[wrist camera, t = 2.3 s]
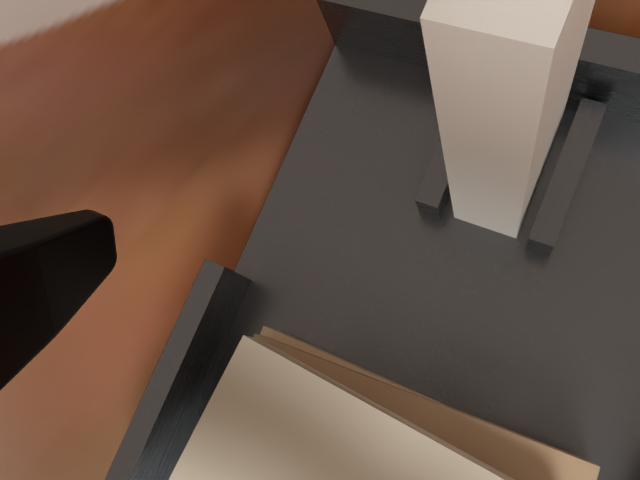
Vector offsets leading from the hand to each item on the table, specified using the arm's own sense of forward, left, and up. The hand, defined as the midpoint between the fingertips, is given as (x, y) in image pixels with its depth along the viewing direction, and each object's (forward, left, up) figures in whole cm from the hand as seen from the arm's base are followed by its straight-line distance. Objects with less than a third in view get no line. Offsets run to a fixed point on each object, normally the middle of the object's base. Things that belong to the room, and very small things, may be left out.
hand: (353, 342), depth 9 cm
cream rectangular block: (+3, -7, -12) cm, 14 cm away
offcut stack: (-2, +4, -13) cm, 14 cm away
